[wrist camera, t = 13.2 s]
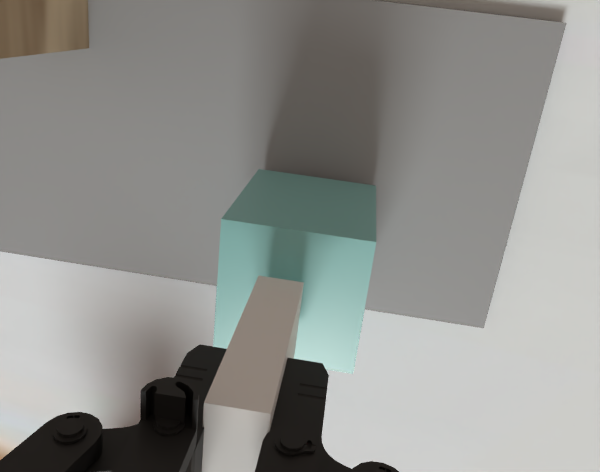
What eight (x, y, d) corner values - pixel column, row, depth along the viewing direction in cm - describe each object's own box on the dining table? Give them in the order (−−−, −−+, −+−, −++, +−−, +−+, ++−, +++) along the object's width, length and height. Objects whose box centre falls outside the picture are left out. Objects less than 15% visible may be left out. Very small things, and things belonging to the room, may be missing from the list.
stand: (-85, 232, 30) (-93, 236, 30) (-130, -60, 25) (-142, -62, 24) (481, 321, 28) (483, 328, 28) (561, 22, 23) (566, 22, 22)
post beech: (33, 40, 25) (-86, 50, 19) (29, -24, 24) (-98, -37, 18) (89, 48, 25) (-12, 60, 18) (87, -16, 24) (-20, -28, 18)
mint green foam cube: (249, 274, 27) (212, 350, 21) (258, 168, 25) (221, 219, 19) (358, 291, 27) (353, 373, 20) (376, 185, 25) (376, 242, 18)
